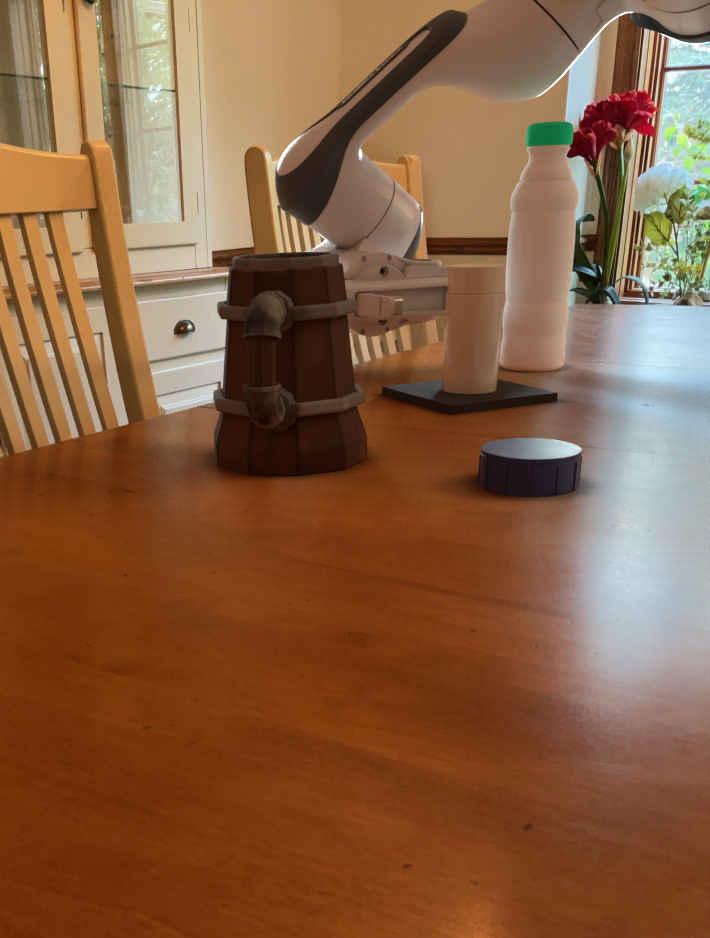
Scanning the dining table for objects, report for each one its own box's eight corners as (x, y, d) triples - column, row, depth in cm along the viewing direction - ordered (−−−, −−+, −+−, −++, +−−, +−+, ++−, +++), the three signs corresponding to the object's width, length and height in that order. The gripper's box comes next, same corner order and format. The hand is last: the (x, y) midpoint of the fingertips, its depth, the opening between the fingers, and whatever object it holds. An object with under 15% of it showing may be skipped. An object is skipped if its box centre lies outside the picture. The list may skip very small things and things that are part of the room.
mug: (232, 441, 88) (226, 251, 82) (376, 444, 85) (380, 248, 79) (178, 489, 74) (165, 265, 68) (347, 495, 71) (350, 262, 65)
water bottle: (495, 372, 116) (511, 122, 106) (503, 362, 122) (519, 125, 112) (561, 373, 114) (584, 118, 104) (565, 364, 120) (587, 122, 110)
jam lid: (458, 484, 73) (460, 446, 72) (524, 469, 76) (527, 433, 75) (531, 504, 67) (534, 464, 66) (598, 487, 71) (602, 449, 70)
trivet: (481, 385, 109) (482, 375, 108) (557, 403, 99) (558, 392, 98) (381, 396, 105) (382, 386, 104) (449, 416, 94) (450, 405, 94)
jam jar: (473, 383, 104) (480, 262, 100) (508, 390, 100) (516, 264, 95) (430, 388, 102) (435, 265, 98) (464, 396, 98) (471, 268, 93)
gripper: (282, 268, 110) (345, 276, 98) (446, 258, 117) (524, 264, 105) (282, 330, 112) (344, 345, 100) (443, 317, 119) (519, 329, 108)
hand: (438, 303), depth 103 cm, fingers open, 8 cm apart
